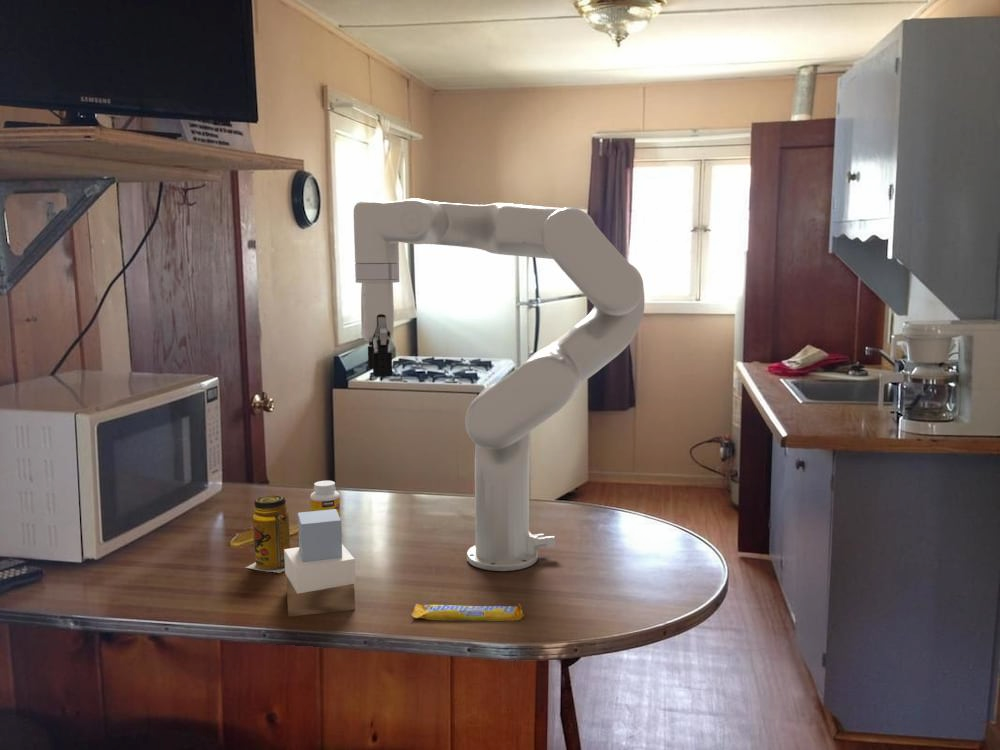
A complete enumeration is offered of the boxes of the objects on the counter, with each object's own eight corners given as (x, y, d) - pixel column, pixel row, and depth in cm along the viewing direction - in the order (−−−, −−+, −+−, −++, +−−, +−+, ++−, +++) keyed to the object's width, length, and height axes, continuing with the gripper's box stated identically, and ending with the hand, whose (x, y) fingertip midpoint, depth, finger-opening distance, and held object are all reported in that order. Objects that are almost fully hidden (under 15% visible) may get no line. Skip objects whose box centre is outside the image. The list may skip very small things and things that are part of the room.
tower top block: (340, 564, 141) (339, 540, 140) (355, 583, 133) (354, 558, 132) (285, 573, 137) (284, 549, 136) (297, 593, 129) (296, 568, 128)
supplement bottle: (321, 541, 162) (319, 488, 160) (306, 534, 166) (303, 483, 164) (346, 534, 166) (344, 483, 164) (330, 527, 170) (328, 477, 168)
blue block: (337, 544, 138) (336, 509, 137) (342, 557, 133) (341, 520, 132) (299, 549, 136) (297, 512, 135) (302, 562, 131) (301, 524, 130)
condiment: (244, 568, 149) (241, 501, 147) (274, 552, 156) (271, 488, 155) (279, 574, 146) (276, 506, 144) (308, 557, 154) (305, 492, 152)
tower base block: (350, 586, 141) (349, 563, 141) (355, 612, 132) (354, 587, 131) (288, 593, 139) (287, 569, 138) (288, 619, 129) (287, 594, 129)
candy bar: (524, 613, 131) (524, 601, 131) (524, 625, 127) (524, 613, 127) (415, 611, 132) (414, 600, 132) (411, 623, 128) (411, 611, 127)
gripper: (352, 272, 155) (355, 365, 158) (359, 276, 139) (362, 380, 141) (393, 271, 157) (395, 364, 159) (405, 275, 140) (407, 378, 143)
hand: (380, 371), depth 150 cm, fingers open, 9 cm apart
